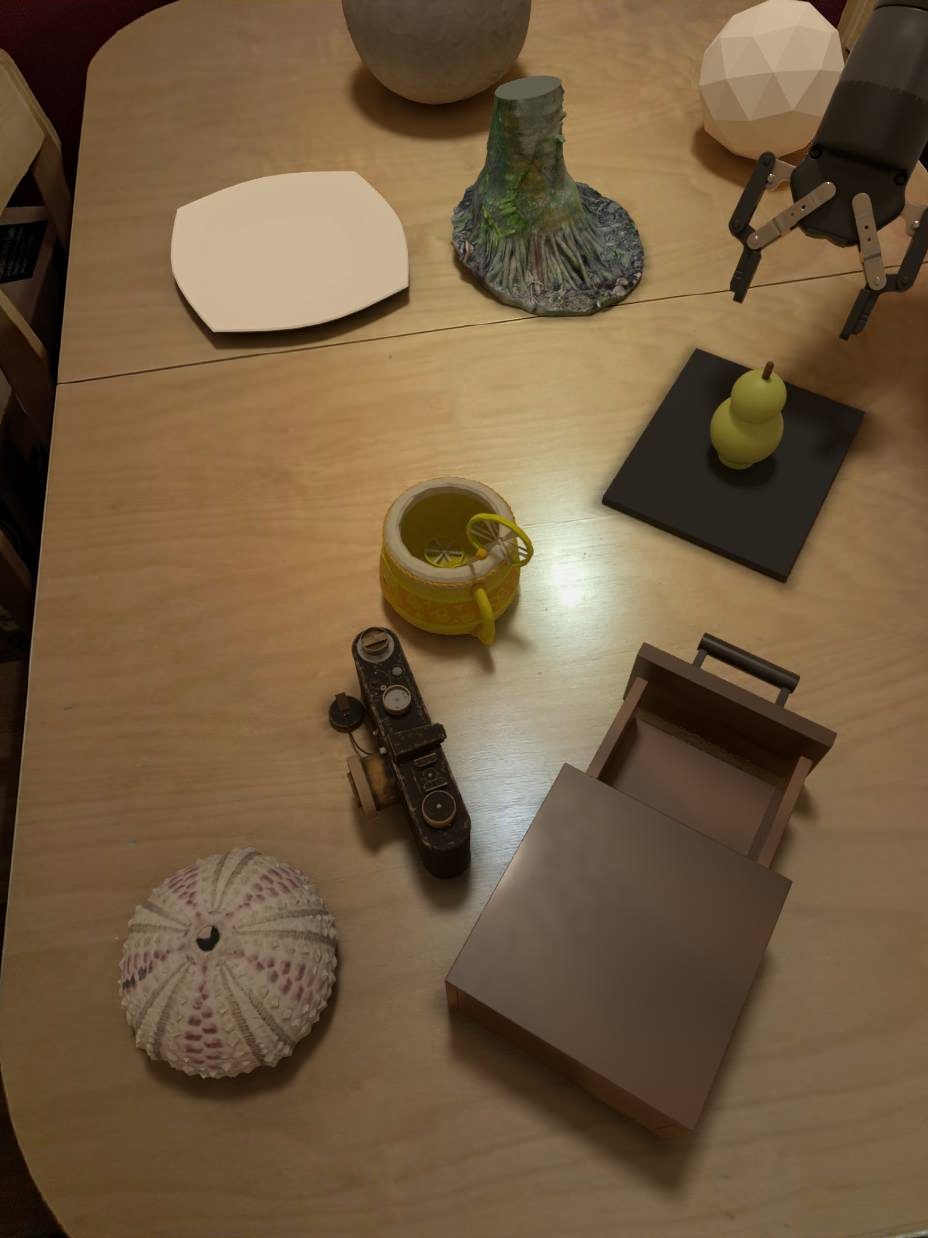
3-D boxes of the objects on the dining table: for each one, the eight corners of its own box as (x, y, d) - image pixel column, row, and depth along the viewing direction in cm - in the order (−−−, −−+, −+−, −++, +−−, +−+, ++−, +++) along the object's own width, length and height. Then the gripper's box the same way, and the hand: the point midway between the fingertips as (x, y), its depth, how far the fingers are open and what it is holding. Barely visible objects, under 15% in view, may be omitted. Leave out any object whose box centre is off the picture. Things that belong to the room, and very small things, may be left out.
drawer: (652, 643, 70) (669, 595, 65) (824, 724, 67) (858, 681, 61) (544, 844, 63) (551, 809, 57) (732, 947, 59) (761, 922, 53)
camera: (318, 692, 69) (302, 639, 63) (403, 664, 71) (396, 608, 64) (389, 903, 62) (379, 869, 55) (484, 867, 63) (486, 829, 56)
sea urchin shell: (280, 1123, 55) (254, 1116, 48) (87, 1027, 58) (35, 1007, 51) (378, 911, 61) (367, 877, 54) (199, 833, 64) (166, 791, 57)
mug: (360, 557, 76) (344, 460, 65) (483, 512, 78) (486, 411, 68) (422, 687, 70) (415, 602, 59) (554, 634, 72) (568, 544, 62)
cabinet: (553, 809, 65) (565, 762, 57) (753, 916, 61) (793, 880, 54) (447, 1005, 58) (444, 980, 51) (663, 1138, 55) (693, 1133, 47)
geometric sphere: (717, 169, 110) (723, 20, 104) (852, 157, 102) (867, -5, 97) (673, 166, 99) (678, -1, 93) (822, 152, 91) (836, -31, 85)
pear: (780, 445, 80) (820, 352, 71) (756, 491, 78) (794, 401, 69) (717, 420, 82) (749, 325, 73) (691, 464, 79) (720, 372, 70)
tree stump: (531, 352, 88) (503, 159, 75) (425, 277, 101) (385, 101, 87) (683, 271, 92) (682, 75, 79) (563, 209, 105) (545, 31, 91)
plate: (199, 367, 86) (194, 351, 85) (157, 215, 98) (152, 199, 96) (437, 311, 90) (436, 294, 89) (370, 171, 101) (369, 153, 100)
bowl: (562, 79, 110) (575, -66, 97) (447, 160, 102) (445, 14, 89) (431, 19, 117) (427, -124, 104) (315, 90, 109) (294, -55, 96)
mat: (862, 417, 83) (865, 411, 82) (783, 582, 74) (786, 576, 74) (694, 353, 87) (696, 347, 87) (601, 502, 78) (602, 496, 78)
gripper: (793, 52, 65) (699, 285, 71) (999, 111, 63) (884, 350, 68) (792, 83, 72) (706, 294, 78) (977, 138, 69) (875, 353, 75)
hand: (789, 320), depth 73 cm, fingers open, 8 cm apart
